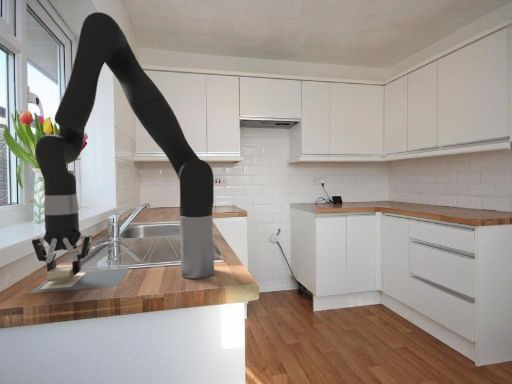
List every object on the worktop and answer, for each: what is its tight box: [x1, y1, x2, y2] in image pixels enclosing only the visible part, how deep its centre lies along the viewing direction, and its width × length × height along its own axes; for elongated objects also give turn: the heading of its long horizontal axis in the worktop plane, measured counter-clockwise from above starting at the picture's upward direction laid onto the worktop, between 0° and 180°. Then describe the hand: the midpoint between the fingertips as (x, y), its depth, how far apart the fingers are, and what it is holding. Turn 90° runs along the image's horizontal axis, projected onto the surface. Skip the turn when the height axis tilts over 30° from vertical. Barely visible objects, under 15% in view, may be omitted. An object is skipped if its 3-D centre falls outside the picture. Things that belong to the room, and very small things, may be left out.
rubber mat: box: [29, 267, 130, 294], centre depth 80 cm, size 20×15×1 cm
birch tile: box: [46, 262, 75, 282], centre depth 79 cm, size 8×5×2 cm, turn 13°
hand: (64, 274), depth 79 cm, fingers closed on birch tile, 4 cm apart
